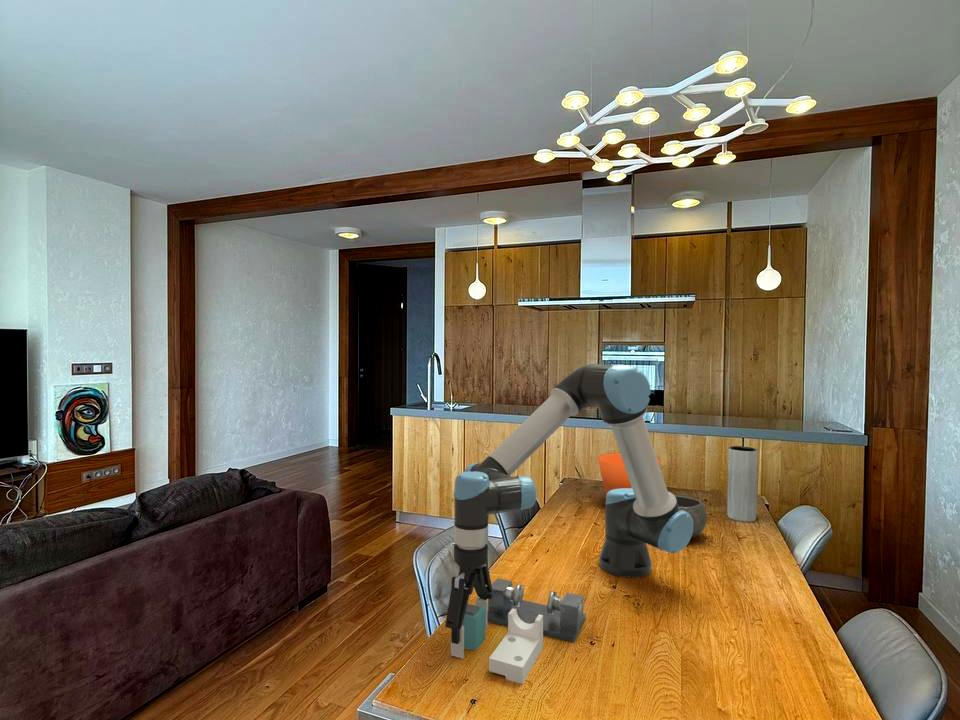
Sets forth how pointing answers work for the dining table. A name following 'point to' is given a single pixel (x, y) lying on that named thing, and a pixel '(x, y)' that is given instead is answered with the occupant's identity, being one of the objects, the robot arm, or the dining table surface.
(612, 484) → the flowerpot
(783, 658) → the dining table surface
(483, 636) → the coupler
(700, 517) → the bowl
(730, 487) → the vase
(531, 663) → the bracket
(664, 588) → the dining table surface
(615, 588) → the dining table surface
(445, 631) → the dining table surface
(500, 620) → the shaft bench
